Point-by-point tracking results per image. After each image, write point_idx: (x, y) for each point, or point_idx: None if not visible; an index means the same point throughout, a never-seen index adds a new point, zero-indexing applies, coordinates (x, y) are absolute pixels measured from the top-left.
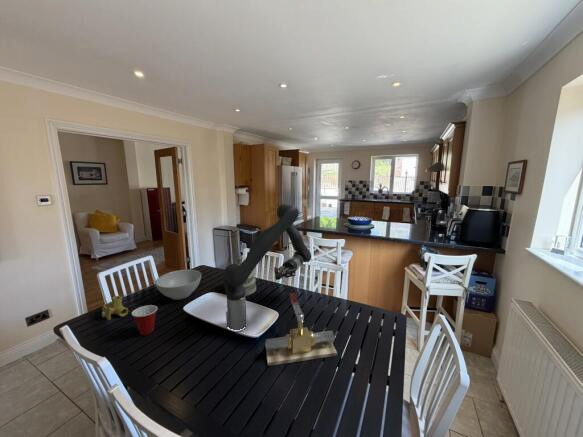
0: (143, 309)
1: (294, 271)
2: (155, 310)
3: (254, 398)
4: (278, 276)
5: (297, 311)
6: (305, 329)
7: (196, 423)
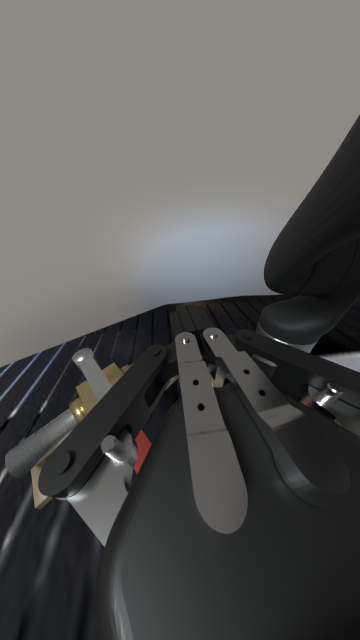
0: None
1: (63, 443)
2: None
3: (144, 327)
4: (177, 309)
5: (92, 360)
6: (91, 402)
7: (169, 305)
